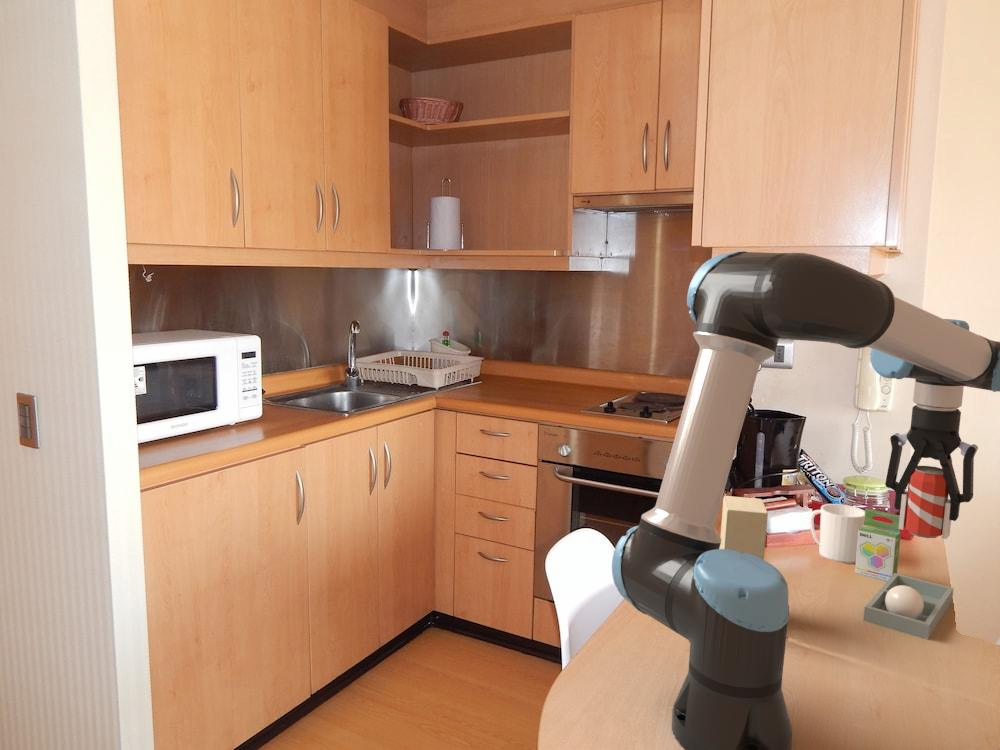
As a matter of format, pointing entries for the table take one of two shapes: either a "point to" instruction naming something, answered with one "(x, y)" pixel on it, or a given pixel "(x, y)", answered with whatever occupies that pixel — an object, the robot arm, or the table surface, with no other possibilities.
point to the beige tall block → (744, 525)
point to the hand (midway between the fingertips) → (923, 531)
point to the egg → (904, 601)
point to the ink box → (878, 546)
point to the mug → (838, 531)
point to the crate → (922, 627)
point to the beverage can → (926, 502)
